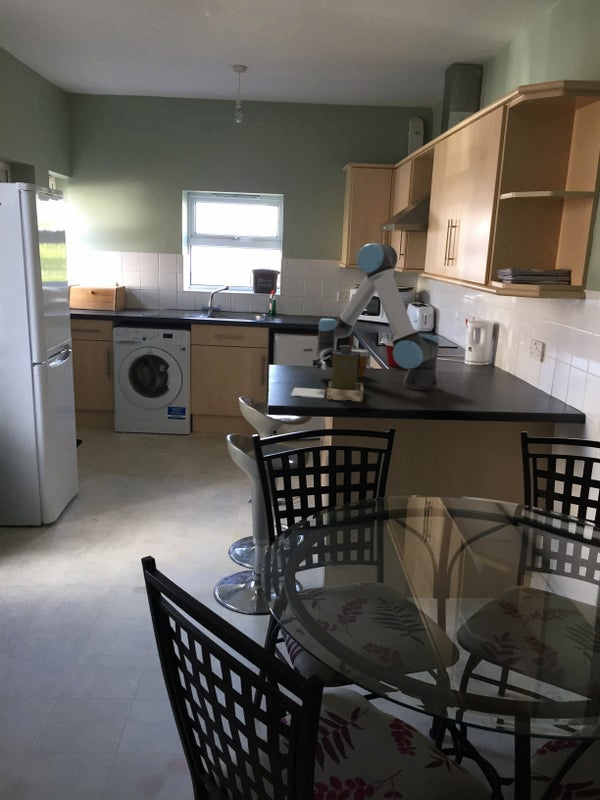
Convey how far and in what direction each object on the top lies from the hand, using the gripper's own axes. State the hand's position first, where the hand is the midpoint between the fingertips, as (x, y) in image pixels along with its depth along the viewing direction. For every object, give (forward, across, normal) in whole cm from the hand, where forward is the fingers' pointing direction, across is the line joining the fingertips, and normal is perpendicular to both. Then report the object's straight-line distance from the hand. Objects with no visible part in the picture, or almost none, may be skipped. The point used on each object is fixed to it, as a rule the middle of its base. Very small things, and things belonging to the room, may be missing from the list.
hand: (341, 366), depth 262 cm
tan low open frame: (+4, -1, -11) cm, 12 cm away
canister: (+4, -1, -11) cm, 12 cm away
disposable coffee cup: (-37, -17, -11) cm, 42 cm away
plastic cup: (-65, -43, -11) cm, 79 cm away
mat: (+1, +13, -11) cm, 17 cm away
